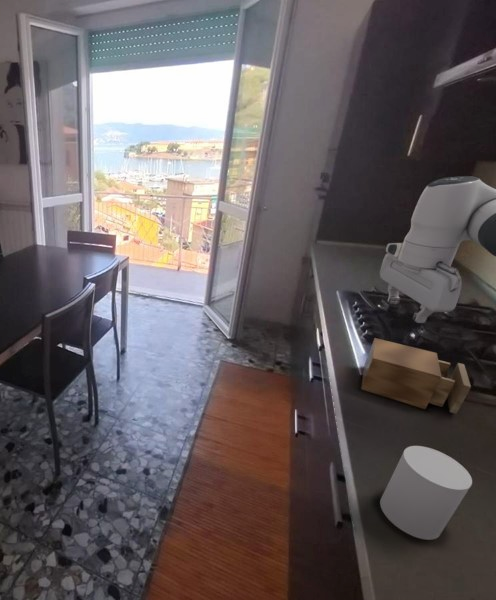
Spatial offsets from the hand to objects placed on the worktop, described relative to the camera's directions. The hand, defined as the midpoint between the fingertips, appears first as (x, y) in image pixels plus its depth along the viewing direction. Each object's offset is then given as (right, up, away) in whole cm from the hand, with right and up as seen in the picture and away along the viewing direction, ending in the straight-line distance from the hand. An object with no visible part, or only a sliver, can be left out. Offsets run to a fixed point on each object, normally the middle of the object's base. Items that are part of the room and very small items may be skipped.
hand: (404, 311), depth 83 cm
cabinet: (+4, -20, +9) cm, 22 cm away
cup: (-18, -35, -22) cm, 45 cm away
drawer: (+9, -20, +5) cm, 23 cm away
